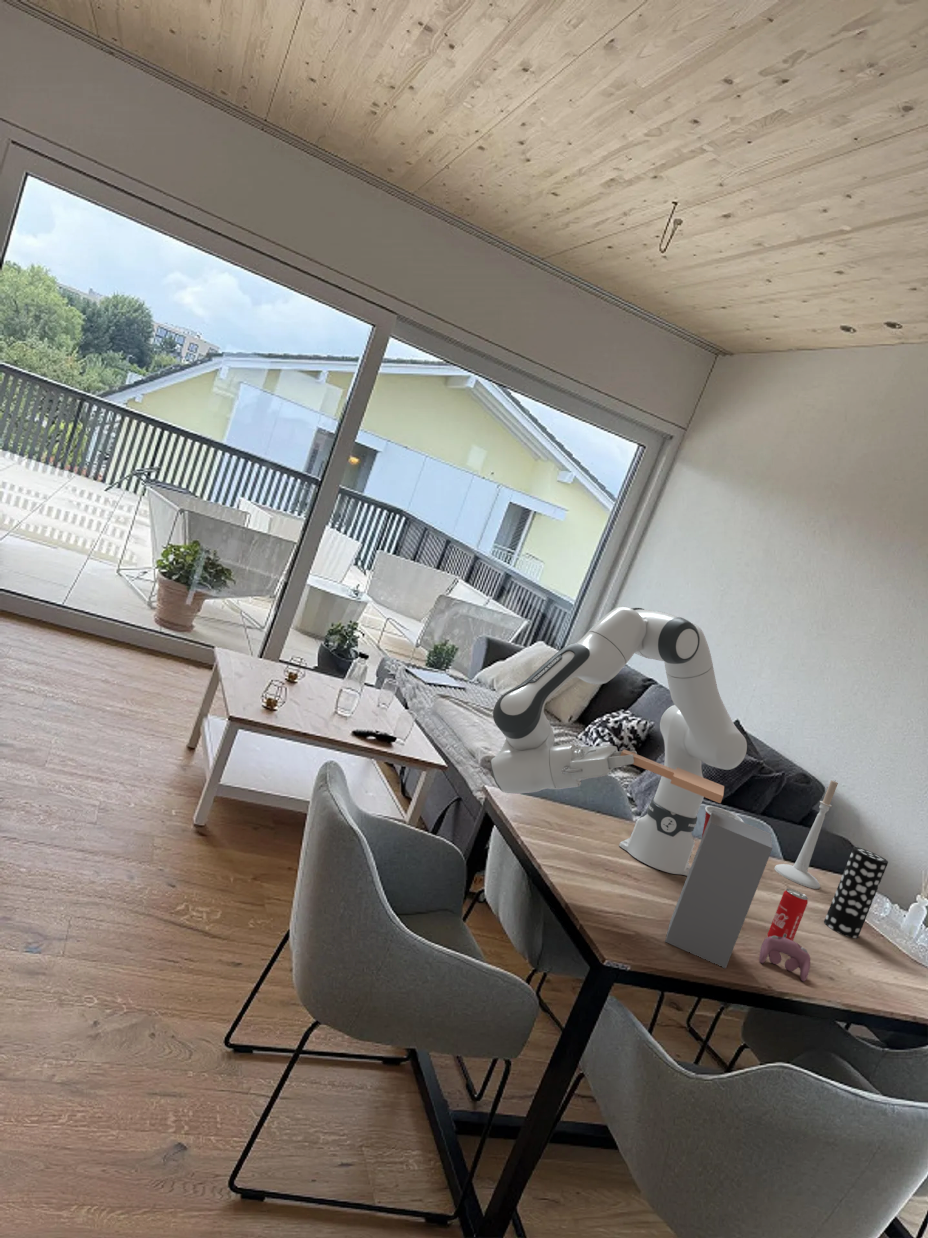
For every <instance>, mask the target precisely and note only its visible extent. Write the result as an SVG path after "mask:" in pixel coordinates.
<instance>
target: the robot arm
mask: <svg viewBox="0 0 928 1238" xmlns="http://www.w3.org/2000/svg"><path fill="white" fill-rule="evenodd" d="M634 654H636V655H638V656H640V657H641V658H642V657H643V658H646V659H650V660H655V661H661V662H664V668H665V673H666V678H667V683H668V689H669V694H670V697H671V701H672V703H673V705H671V706H669V707H668V708H667V709H665V711H664V712H663V714H662V715H661V718H660V720H659V731H660V733H661V735H662V739H663V743H664V763H663V765H665V766H667V767H670V768H672V769H675V770H676V768H677V767H678V768H680V769H683V770H685V771H688V772H690V773H693V774H695V775H698V776H700V777H703V778H704V775H703V772H702V763H703V764H706V765H707V766H710V767H713V768H716V769H719V770H720V769H721V770H725V771H727V770H728V771H729V770H733V769H735V768H737V767H738V766H739V765H741V763H742V762H743V761H744V760H745V759H744V758H745V757H746V754H747V749H748V743H747V739H746V737H745V736H744V735H743V733H741V731H740V730H739V729H738V727H737V726H736V725H735V724H734V721H733V720H732V718H731V716H730V714H729V713H728V709H727V708H726V706H725V704H724V702H723V700H722V697H721V695H720V693H719V689H718V685H717V679H716V674H715V669H714V664H713V663H714V662H713V658H712V656H711V654H712V653H711V650H710V647H709V643H708V641H707V639H706V636H705V634H704V632H703V630H702V628H701V627H700V625H697V624H695V623H692V622H691V621H689V620H688V619H686V618H683V617H680V616H675V615H674V614H670V613H667V612H665V611H664V612H663V611H659V610H657V611H656V610H651V609H645V608H642V607H627V606H618V607H614V608H613V609H612V610H610V611H609V612H607V613H606V614H605V615H604V616H603V617H601V618H600V619H599V620H598V621H597V622H595V623H594V625H593V626H592V627H591V628H590V629H589V630H588V631H587V632H585V634H584V635H583V636H582V637H581V638H580V639H578V640H577V641H576V642H574V643H571V644H567V645H566V646H564V647H563V648H561V649H560V650H559V651H557V652H556V653H555V654H554V655H552V656H551V657H550V658H549V659H548V660H547V661H546V662H545V663H543V664H542V665H541V666H539V668H538V669H537V670H535V671H534V672H533V673H532V674H531V675H530V676H529V677H528V678H526V679H525V680H523V682H521V683H519V684H518V685H516V686H514V687H513V688H511V689H510V690H508V691H505V692H504V693H503V694H502V695H501V696H500V697H499V698H498V700H497V701H496V702H495V704H494V707H493V711H492V717H493V722H494V724H495V725H496V727H497V728H498V729H499V731H500V732H501V733H502V735H504V737H505V741H504V742H503V743H504V744H503V745H502V747H501V749H500V751H499V752H498V753H497V754H496V756H494V757H493V758H491V760H490V761H491V762H490V770H491V774H492V777H493V781H494V783H495V784H496V786H497V787H498V789H499V790H500V791H501V792H503V793H505V794H528V793H529V794H530V793H538V792H540V791H542V790H543V791H544V790H546V789H547V790H549V789H550V790H561V789H563V790H564V789H568V788H569V789H570V788H577V787H580V786H581V784H582V781H584V780H587V779H594V778H595V779H596V778H601V777H607V776H608V775H609V774H610V772H612V770H614V769H616V768H620V767H623V766H627V765H634V764H633V763H634V761H635V760H634V756H633V755H632V754H630V755H624V756H620V755H621V753H622V751H623V750H622V751H618V747H617V746H615V745H596V746H595V745H594V746H581V744H575V743H567V744H560V745H559V744H558V745H555V732H554V729H553V727H552V726H551V723H550V721H549V720H548V718H547V715H546V714H545V712H544V711H545V706H546V703H547V702H548V700H549V699H550V698H552V697H553V696H554V694H556V693H557V692H558V691H559V690H561V688H562V687H563V686H565V684H567V683H568V682H569V681H571V680H572V679H574V678H578V679H579V680H581V681H583V682H584V683H588V684H591V685H603V684H607V683H608V682H609V681H611V680H612V679H614V678H615V677H616V676H617V675H618V674H619V673H620V672H621V671H622V669H623V668H624V667H625V666H626V665H627V663H628V662H629V661H630V660H631V659H632V657H633V656H634ZM630 752H632V753H635V754H637V755H638V753H637V751H636V750H630ZM670 782H671V779H668V778H666V777H663V776H661V777H660V780H659V783H658V786H657V789H656V792H655V795H654V798H653V799H651V800H650V802H649V805H648V808H647V810H646V814H645V815H643V816H642V817H640V818H637V820H636V821H635V824H634V827H633V830H632V831H631V834H630V837H628V838H626V839H625V840H622V841H620V842H619V845H618V846H619V847H620V848H622V849H623V850H625V851H626V852H628V853H629V855H631V856H632V857H633V858H635V859H636V860H638V861H640V862H641V863H644V864H645V865H648V866H649V867H652V868H654V869H656V870H660V871H662V872H665V873H669V874H674V875H683V876H686V877H687V876H688V873H689V871H690V868H691V865H690V863H689V861H690V859H691V856H692V853H693V849H694V847H695V844H696V842H695V839H694V837H693V835H692V833H693V832H694V829H695V828H696V825H697V821H698V813H699V811H700V808H701V805H702V802H703V800H704V798H705V797H703V796H701V795H698V794H696V793H693V792H691V791H688V790H686V789H683V788H681V787H679V786H676V785H674V784H671V783H670Z"/></svg>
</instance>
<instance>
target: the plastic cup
mask: <svg viewBox="0 0 928 1238" xmlns="http://www.w3.org/2000/svg"><path fill="white" fill-rule="evenodd" d="M704 810H705V815H704V816H705V817H704V824H703V829H702V833H701V837H702V836H703V834H704V831H705V829H706V826H707V823H708V821H709V818H710V816H711V813H712V810H714V811H717V812H719V813H722V814H724V815H726V816H729V817H731V818H734V819H736V820H739V821H741V822H744V823H745V821H744V820H743V819H742V817H740V816H739V815H737V814H736V813H733V812H732V811H729V810H726V809H725V808H720V807H718V806H712V805H711V806H710V805H707V806H705V808H704Z"/></svg>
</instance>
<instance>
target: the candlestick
mask: <svg viewBox="0 0 928 1238" xmlns="http://www.w3.org/2000/svg"><path fill="white" fill-rule="evenodd" d="M838 784H839V783H838V781H836V780H830V782H829V785H828V787H827V789H826V793H825V795H824V797H823V800H819V803H820V804H819V812H818V813H817V814H816V817H815V820H814V822H813V823H812V826H811V827H810V830H809V833H808V835H807V837H806V839H805V841H804V843H803V846H802V848H801V850H800V852H799V854H798V856H797V858H796V861H795V863H793V865H792V864H787V863H780V864H779V863H778V864H775V866H774V871H776V873H777V874H779V875H780V876H781V877H783V878H785V879H787V880H789V881H791V882H793V883H795V884H798V885H800V886H802V887H805V888H809V889H814V890H819V889H820V888H821V884H820V882H819V880H818V879H817V878H816V877H815V876H813V875H812V874H811V873H810V872H809V871H808V869H809V866H810V863H811V859H812V857H813V854H814V850H815V848H816V846H817V845H816V844H817V841H818V838H819V835H820V833H821V830H822V826H823V823H824V820H825V818H826V813H827V812H829V810H830V808H832V807H833V805H831V802H832V800H833V798H834V794H835V792H836V789H837V787H838Z"/></svg>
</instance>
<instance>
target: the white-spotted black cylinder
mask: <svg viewBox="0 0 928 1238" xmlns="http://www.w3.org/2000/svg"><path fill="white" fill-rule="evenodd" d="M888 864H889V861H888V860H887V859H886V858H884V857H882V856H881V855H879V854H876V853H875V852H873V851H869V850H867V849H865V848H861V847H859V846H853V848H852V850H851V853H850V855H849V858H848V860H847V863H846V866H845V868H844V871H843V872H842V876H841V878H840V880H839V883H838V885H837V888H836V890H835V893H834V895H833V898H832V901H831V904H830V906H829V908H828V911H827V913H826V916H825V918H824V921H823V923H824V924H825V925H826V926H827V927H828V928H830V929H831V930H832V931H835V932H836V933H838V934H841V935H843V936H846V937H849V938H851V939H852V938H853V939H858V938H859V937H860V934H861V931H862V929H863V927H864V925H865V921H866V919H867V918H868V914H869V912H870V909H871V907H872V905H873V901H874V899H875V896H876V894H877V892H878V889H879V886H880V884H881V882H882V879H883V876H884V874H885V871H886V869H887V866H888Z"/></svg>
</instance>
